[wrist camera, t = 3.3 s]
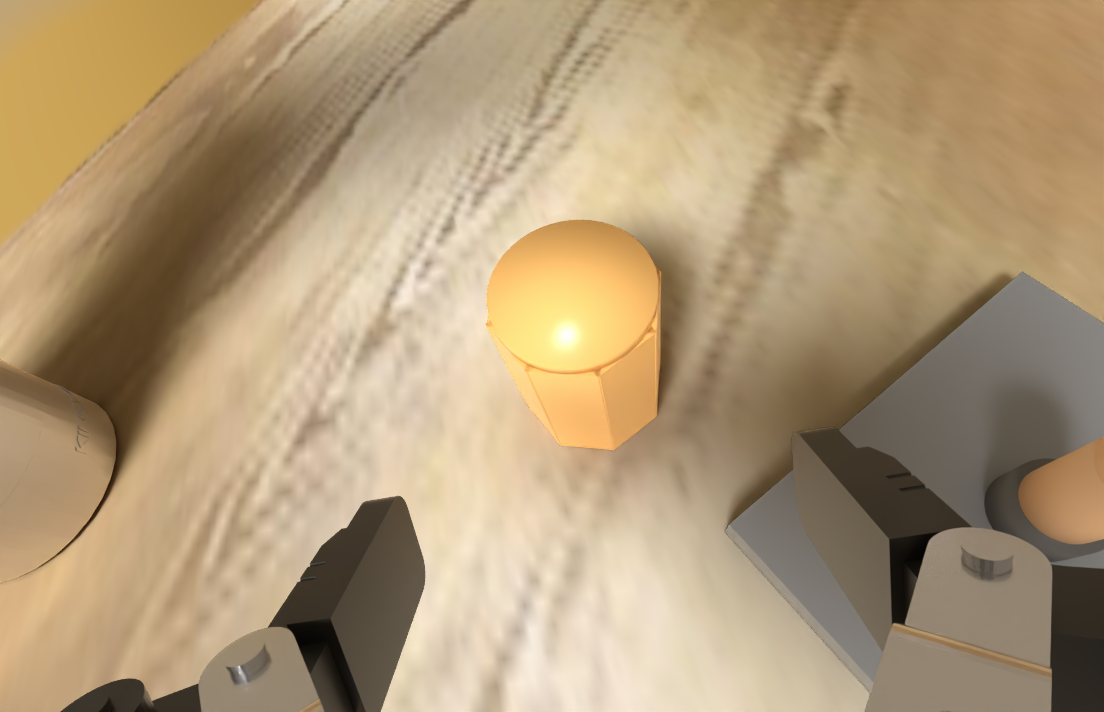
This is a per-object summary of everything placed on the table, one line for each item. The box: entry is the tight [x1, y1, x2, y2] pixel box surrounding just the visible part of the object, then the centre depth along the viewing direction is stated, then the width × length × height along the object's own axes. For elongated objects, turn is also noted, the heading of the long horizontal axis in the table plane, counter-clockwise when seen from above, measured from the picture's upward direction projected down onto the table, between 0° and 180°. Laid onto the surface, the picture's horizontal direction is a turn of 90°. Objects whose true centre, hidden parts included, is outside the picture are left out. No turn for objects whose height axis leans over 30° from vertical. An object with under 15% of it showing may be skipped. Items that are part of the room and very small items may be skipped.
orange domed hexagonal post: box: [486, 220, 661, 450], centre depth 22 cm, size 6×6×8 cm
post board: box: [725, 272, 1104, 693], centre depth 17 cm, size 16×12×8 cm
